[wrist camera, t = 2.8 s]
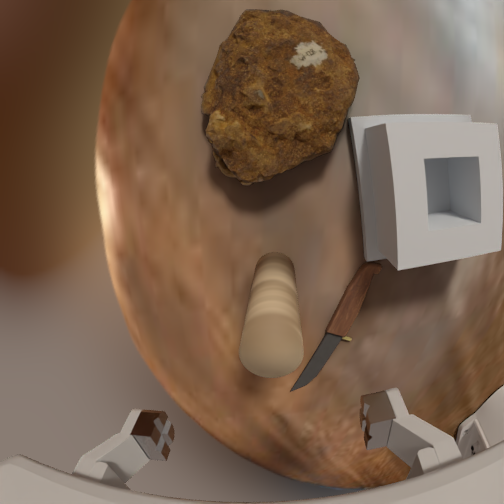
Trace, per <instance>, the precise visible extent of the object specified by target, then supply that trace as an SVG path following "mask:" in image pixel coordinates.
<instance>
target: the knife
mask: <svg viewBox="0 0 504 504" xmlns="http://www.w3.org/2000/svg"><path fill="white" fill-rule="evenodd" d="M381 268H382V266H381V265H380V264H378V263H373V262H368V263H365V264H363V265H362V266H361V268H360V269H359V270H358V271H357V273H356V274H355V275H354V277H353V279H352V280H351V282H350V283H349V285H348V286H347V288H346V290H345V292H344V294H343V296H342V298H341V300H340V302H339V304H338V306H337V308H336V310H335V312H334V314H333V316H332V318H331V320H330V322H329V324H328V326H327V328H326V331H327V333H326V334H325V336H324V338H323V340H322V341H321V343H320V345H319V346H318V348H317V350H316V351H315V353H314V355H313V356H312V358H311V359H310V361H309V363H308V364H307V366H306V368H305V369H304V371H303V372H302V374H301V375H300V377H299V379H298V380H297V382H296V383H295V385H294V386H293V388H292V389H291V391H293V390H296V389H298V388H301V387H303V386H305V385H307V384H308V383H309V382H310V381H311V380H313V379H314V378H315V377H316V376H317V375H318V373H319V372H320V370H321V369H322V367H323V366H324V365H325V363H326V362H327V360H328V359H329V357H330V356H331V354H332V353H333V351H334V350H335V348H336V347H337V345H338V344H339V342H340V340H341V339H345V340H348V341H351V340H352V339H351V338H350V337H346V334H347V333H348V331H349V329H350V327H351V325H352V324H353V322H354V320H355V318H356V316H357V314H358V313H359V311H360V308H361V306H362V303H363V301H364V298H365V296H366V293H367V290H368V288H369V285H370V283H371V280H372V277H373V274H379V272H380V270H381ZM291 391H290V392H291Z"/></svg>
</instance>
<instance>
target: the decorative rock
mask: <svg viewBox="0 0 504 504" xmlns="http://www.w3.org/2000/svg"><path fill="white" fill-rule="evenodd" d="M358 81H359V75H358V71H357V68H356V65H355V63H354V59H353V58H351V55H350V52H349V49H348V48H347V46H346V44H343V43H340V42H339V41H338V40H337V39H335V38H334V37H332V36H331V35H330V34H329V33H328V32H327V30H326V29H325V28H324V27H323V25H322V24H321V23H320V22H318V21H314V20H310V19H307V18H303V17H300V16H298V15H295V14H293V13H291V12H289V11H285V10H277V11H269V10H257V9H247V10H245V11H244V12H243V13H242V15H241V16H240V17H239V20H238V22H237V23H236V25H235V26H234V28H233V30H232V32H231V34H230V35H229V37H228V38H227V39H226V40H225V41H224V42H222V43H221V45H220V47H219V50H218V54H217V57H216V59H215V62H214V64H213V67H212V70H211V72H210V75H209V77H208V79H207V81H206V84H205V86H204V90H205V92H204V93H203V94H202V95H201V98H202V99H203V100H202V104H201V111H202V114H206V115H207V116H209V117H210V119H209V123H208V126H207V128H206V130H205V131H206V137H207V138H208V140H209V142H210V143H212V147H213V153H212V154H213V156H214V159H215V162H216V165H215V168H216V167H219V168H220V170H221V171H222V173H223V174H224V175H226V176H228V177H236V178H237V179H238V180H239V181H240V182H241V183H242V184H243V185H244V186H249V185H251V184H253V183H254V182H260V181H265V180H270V179H272V178H273V177H274V176H275V175H276V174H277V173H283V172H284V171H285V170H289V169H293V168H294V167H296V166H297V165H299V164H300V163H302V162H303V161H305V160H306V161H310V160H312V159H314V158H315V157H317V156H320V155H323V154H326V153H330V152H331V150H332V149H333V146H334V143H335V140H336V138H337V133H339V132H340V131H341V129H342V126H343V123H344V120H345V118H346V115H347V112H348V108H349V107H350V106H351V105H352V103H353V101H354V98H355V94H356V90H357V85H358Z"/></svg>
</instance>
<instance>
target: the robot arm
mask: <svg viewBox="0 0 504 504" xmlns="http://www.w3.org/2000/svg"><path fill="white" fill-rule="evenodd" d="M360 403H361V408H360V424H361V429H362V430H363V431H364V441H365V445H366V449H367V450H370V449H375V448H380V447H384V446H387V447H388V448H389V449H390V450H391V451H392V452H393V453H395V454H396V455H397V456H398V457H399V458H401V459H402V460H403V461H404V462H405V463H406V464H408V465H409V466H410V467H411V470H410V472H409V474H408V477H407V479H406V480H404V481H400V482H396V483H393V484H389V485H385V486H381V487H377V488H372V489H368V490H363V491H358V492H353V493H348V494H342V495H336V496H329V497H322V498H314V499H305V500H294V501H279V502H216V501H201V500H190V499H181V498H173V497H166V496H159V495H153V494H147V493H142V492H137V491H132V490H130V489H129V488H128V487H127V486H126V484H125V483H126V482H127V481H128V480H129V479H130V478H131V477H132V476H133V475H134V474H136V473H137V472H138V471H139V470H140V469H141V468H142V467H143V466H144V465H145V464H146V463H147V462H148V461H149V459H151V460H162V461H167V458H168V455H169V452H170V448H169V445H170V444H171V443H172V442H173V440H174V428H173V425H172V424H171V422H169V421H168V420H167V418H168V416H167V414H166V413H165V412H164V411H154V410H141V409H133V410H132V411H131V412H130V414H129V416H128V418H127V420H126V422H125V424H124V426H123V428H122V430H121V432H120V434H118V433H117V434H115V435H114V436H112V437H111V438H109V439H108V440H106V441H105V442H103V443H102V444H100V445H99V446H97V447H96V448H94V449H92V450H91V451H89V452H88V453H86V454H84V455H83V456H81V458H80V460H79V462H78V464H77V466H76V468H75V469H74V471H73V473H72V474H69V473H67V472H64V471H61V470H58V469H55V468H53V467H50V466H48V465H45V464H42V463H40V462H38V461H35V460H33V459H31V458H28V457H26V456H24V455H20V454H19V455H15V456H12V457H9V458H7V459H5V460H3V461H1V462H0V504H504V385H503V386H502V387H501V388H500V389H498V390H497V391H496V392H495V393H494V394H493V395H492V396H491V397H490V398H489V399H488V400H487V401H486V402H485V403H484V404H483V405H482V406H481V407H480V408H479V409H478V410H477V411H476V412H475V413H474V414H473V415H471V416H470V417H469V418H467V419H466V420H465V421H464V422H462V423H461V424H460V426H459V428H458V433H457V438H456V442H455V440H454V438H453V437H451V436H450V435H448V434H446V433H444V432H443V431H441V430H439V429H437V428H435V427H434V426H432V425H430V424H429V423H427V422H425V421H423V420H422V419H420V418H418V417H417V416H415V415H413V414H411V415H409V413H408V411H407V408H406V406H405V404H404V401H403V399H402V397H401V394H400V392H399V390H398V388H393V389H389V390H385V391H380V392H376V393H371V394H367V395H362V396H361V399H360Z"/></svg>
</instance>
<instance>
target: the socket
mask: <svg viewBox="0 0 504 504" xmlns="http://www.w3.org/2000/svg"><path fill="white" fill-rule="evenodd" d="M348 122H349V128H350V134H351V140H352V146H353V153H354V160H355V167H356V174H357V182H358V191H359V200H360V209H361V220H362V232H363V246H364V258H365V259H366V261H367V262H368V261H375V260H381V259H388V260H389V261H390V263H391V264H392V265H393V266H394V267H395V268H396V269H397V270H403V269H409V268H415V267H420V266H426V265H431V264H436V263H441V262H447V261H452V260H457V259H462V258H467V257H472V256H477V255H482V254H486V253H491V252H496V251H500V250H501V242H502V222H503V184H502V165H501V152H500V142H499V134H498V126H497V124H494V123H477V122H472V120H471V115H456V114H399V115H376V116H361V117H350V118H348Z"/></svg>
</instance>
